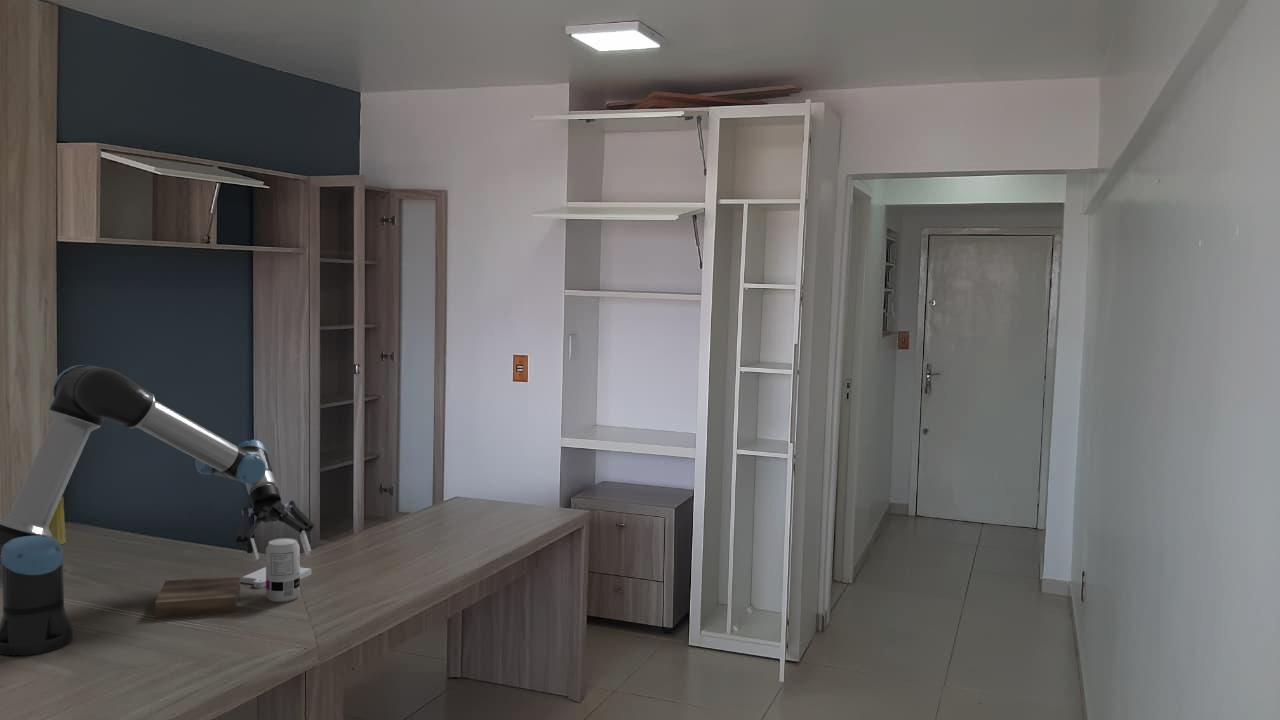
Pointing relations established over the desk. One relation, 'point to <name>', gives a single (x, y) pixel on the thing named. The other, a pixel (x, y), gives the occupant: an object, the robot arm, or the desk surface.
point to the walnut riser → (198, 597)
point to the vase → (58, 523)
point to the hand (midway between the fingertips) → (283, 558)
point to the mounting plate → (260, 577)
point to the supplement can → (282, 570)
